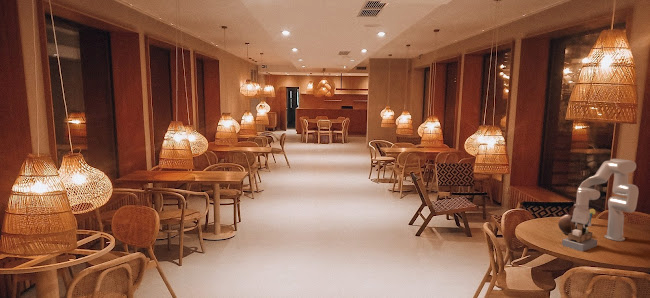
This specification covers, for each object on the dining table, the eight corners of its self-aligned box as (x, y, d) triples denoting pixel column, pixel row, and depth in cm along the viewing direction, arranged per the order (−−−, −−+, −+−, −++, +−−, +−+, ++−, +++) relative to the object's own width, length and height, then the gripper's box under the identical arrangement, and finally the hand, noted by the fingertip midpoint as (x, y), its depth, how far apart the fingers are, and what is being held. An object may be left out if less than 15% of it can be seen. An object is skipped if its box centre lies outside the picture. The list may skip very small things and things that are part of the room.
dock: (576, 240, 310) (576, 234, 310) (597, 245, 298) (597, 239, 298) (561, 245, 299) (562, 239, 299) (582, 251, 288) (582, 245, 287)
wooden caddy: (580, 235, 306) (581, 220, 305) (592, 238, 300) (593, 223, 298) (568, 239, 297) (568, 224, 296) (579, 242, 291) (580, 227, 289)
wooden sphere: (557, 230, 335) (558, 211, 333) (579, 232, 328) (580, 214, 326) (558, 235, 322) (559, 216, 320) (580, 238, 315) (582, 218, 313)
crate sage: (582, 232, 303) (582, 226, 303) (588, 233, 300) (588, 228, 300) (579, 233, 301) (579, 227, 301) (585, 234, 298) (585, 229, 297)
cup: (575, 224, 351) (576, 206, 349) (575, 221, 357) (577, 204, 355) (594, 226, 343) (596, 208, 341) (595, 224, 349) (596, 206, 347)
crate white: (575, 234, 298) (575, 229, 298) (581, 236, 295) (581, 230, 294) (572, 235, 296) (572, 230, 296) (578, 237, 293) (578, 231, 292)
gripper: (567, 205, 301) (565, 230, 303) (592, 210, 287) (590, 236, 289) (572, 203, 305) (571, 228, 307) (597, 208, 291) (595, 234, 293)
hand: (580, 232), depth 298 cm, fingers closed on wooden caddy, 3 cm apart
